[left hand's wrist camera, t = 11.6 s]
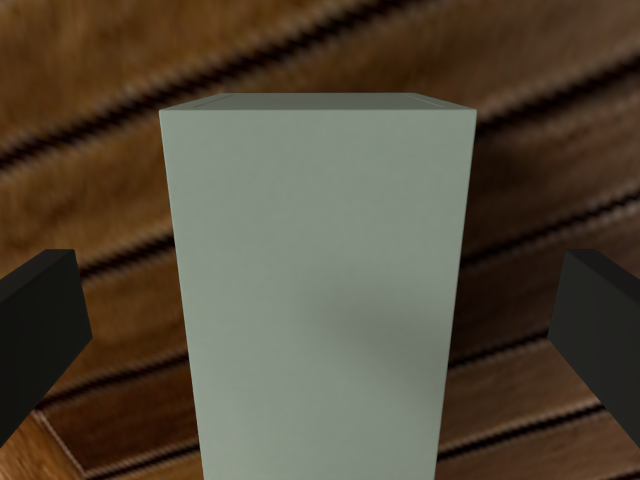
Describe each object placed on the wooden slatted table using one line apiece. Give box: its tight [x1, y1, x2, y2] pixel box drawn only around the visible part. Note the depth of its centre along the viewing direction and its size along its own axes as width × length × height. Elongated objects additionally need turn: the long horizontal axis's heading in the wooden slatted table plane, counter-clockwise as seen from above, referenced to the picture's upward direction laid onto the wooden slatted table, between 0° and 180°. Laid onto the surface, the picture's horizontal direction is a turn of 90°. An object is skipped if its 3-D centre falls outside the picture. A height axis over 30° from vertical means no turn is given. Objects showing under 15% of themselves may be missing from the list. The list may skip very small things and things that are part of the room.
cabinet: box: [159, 93, 477, 480], centre depth 26 cm, size 22×12×12 cm, turn 0°
